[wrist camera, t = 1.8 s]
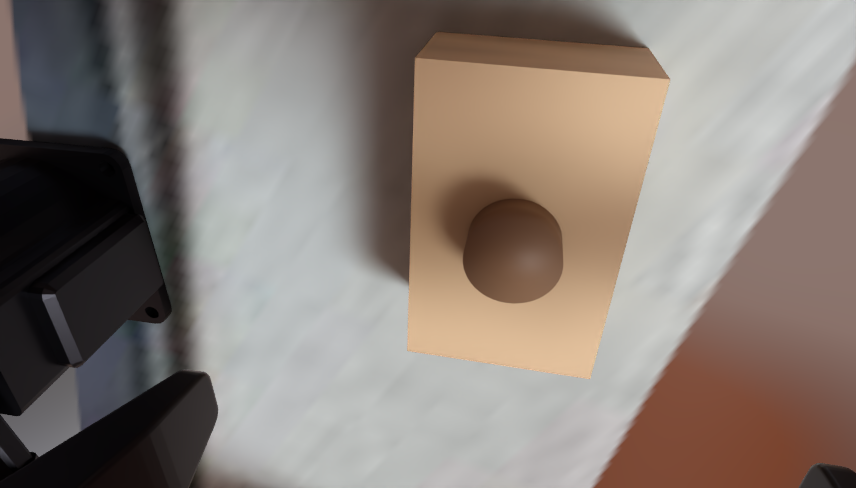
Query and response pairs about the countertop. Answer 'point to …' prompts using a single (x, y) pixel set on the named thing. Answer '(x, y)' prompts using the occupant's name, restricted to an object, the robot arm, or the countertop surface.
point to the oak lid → (524, 194)
